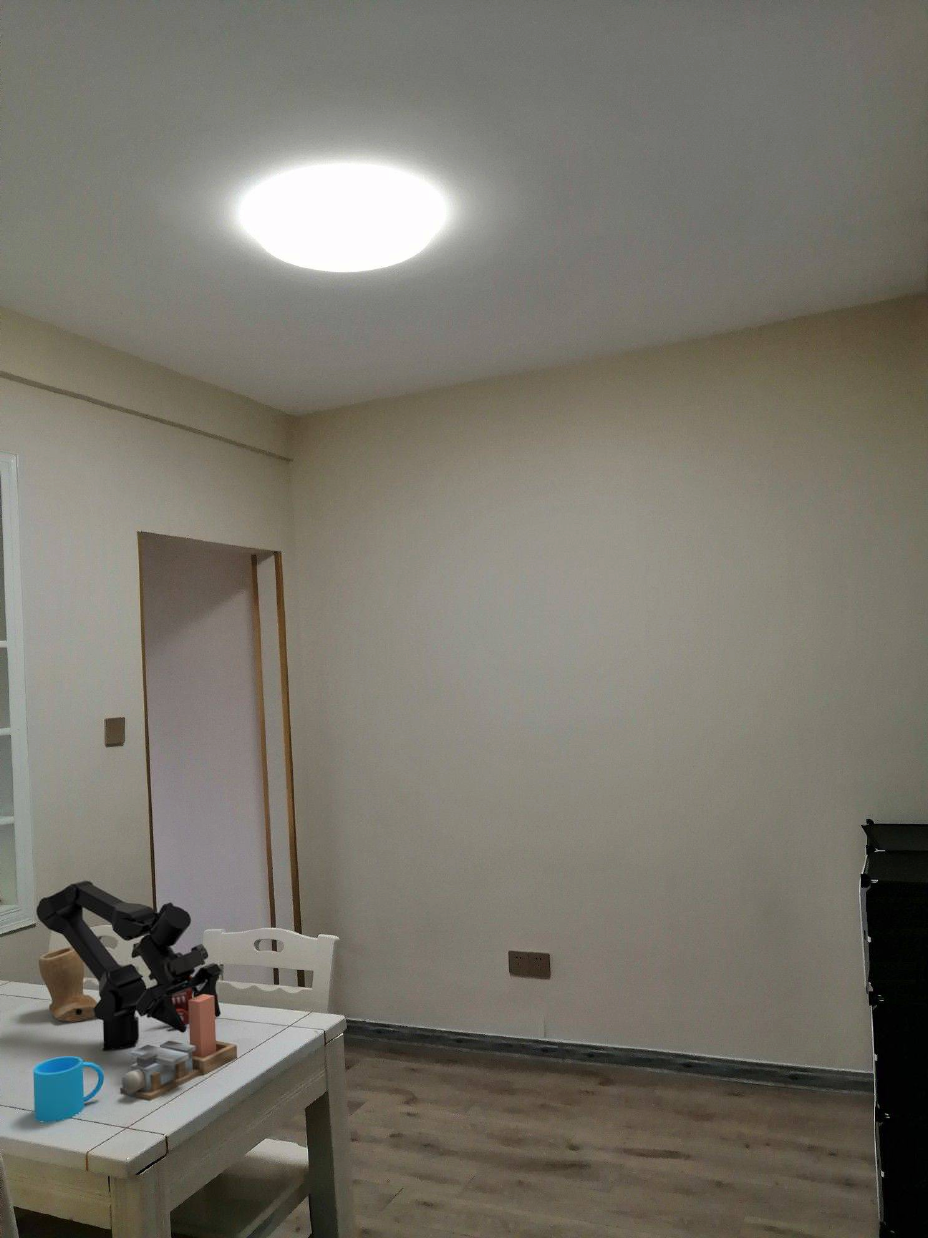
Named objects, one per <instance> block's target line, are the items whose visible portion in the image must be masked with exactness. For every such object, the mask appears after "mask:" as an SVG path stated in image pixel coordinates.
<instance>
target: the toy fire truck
mask: <svg viewBox="0 0 928 1238" xmlns="http://www.w3.org/2000/svg"><path fill="white" fill-rule="evenodd" d="M192 977H193V976H192V975H190V978H192ZM197 994H198V993H196V992H194V991H193V990H192V988H191V989H188V990H186V991H184V992H181V993H179V994H176V995H174V996H172V1001H173V1006H174V1007H175V1009H176V1011H177V1012H178V1014H179V1016H180V1017H181V1019H182V1021H183V1022H184V1024H185V1027H186V1026H187V1024H189V1004H188V1000H190V999H192V998H195V997H196V995H197ZM216 995H217V999H218V1000H219V996H218V994H217V992H216ZM173 1029H175V1028H173ZM175 1030H176V1029H175Z"/></svg>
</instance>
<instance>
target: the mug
mask: <svg viewBox="0 0 928 1238" xmlns="http://www.w3.org/2000/svg"><path fill="white" fill-rule="evenodd" d="M84 1068H90V1069H93V1070H94V1071H95V1072H96V1073H97V1077H98V1078H97V1079H98V1080H97V1083H96V1085H95V1087H94V1088H93V1089H92V1090H91V1092H90V1093H88V1094H86V1095H85V1096H84V1093H85V1092H84ZM32 1071H33V1072H32V1073H33V1102H34V1103H33V1108H34V1120H36V1119H37V1120H36V1121H38V1122H41V1121H43V1122H42V1123H53V1122H52V1121H57V1122H61V1120H62V1121H64V1120H63V1119H66V1120H68V1119H71V1118H73V1116H74V1117H76V1116H77V1115H79V1114H80V1113H82V1110H84V1109H85V1102H88V1101H89V1100H91V1099H92V1098H94V1097H95V1096H96V1095H97V1094H98V1093H99V1091H100V1090H101V1088H102V1086H103V1084H104V1080H105V1075H104V1071H103V1069H102V1068H101V1067H100V1065H98V1064H96V1063H94V1062H87V1061H83V1059H82V1058H80V1057H79V1056H73V1055H71V1056H69V1055H68V1056H67V1055H65V1056H59V1057H54V1058H51V1059H47V1060H44V1061H42V1062H39V1063H38V1064H37V1065H35V1066H34V1067H33V1069H32ZM79 1112H80V1113H79ZM76 1114H77V1115H76ZM70 1117H71V1118H70Z"/></svg>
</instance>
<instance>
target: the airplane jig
mask: <svg viewBox="0 0 928 1238" xmlns="http://www.w3.org/2000/svg"><path fill="white" fill-rule="evenodd" d="M237 1048H238V1046H237V1044H234V1043H229V1042H224V1041H218V1040H216V1052H215V1053H213V1054H211V1055H209V1056H207V1057H205V1058H201V1057H197V1056H192V1051H194V1050H196V1046H193V1045H190V1044H187V1043H182V1042H177V1041H173V1040H168V1041H165V1042H163V1043H161V1044H159V1046H156V1045H152V1044H151V1045H150V1044H146V1045H144V1046H142V1047H139V1048H137V1049H135V1050H132V1051H130V1056H131V1058H134V1059H136V1063H133V1064H132V1065H130V1071H128V1072H127V1073H125V1074H123V1076H122V1078H121V1084H122V1087H120V1088H119V1089H120V1090H119V1091H120V1093H121V1094H124V1095H128V1096H129V1095H130V1096H132V1097H135V1098H136V1097H137V1098H140V1099H144V1100H148V1101H152V1100H154V1099H156V1098H159V1097H160V1096H162V1095H164V1094H165V1093H168V1092H169V1091H172V1090H174V1089H175V1088H177V1087H179V1086H182V1085H183V1084H185V1083H187V1082H189V1081H191V1080H193V1079H195V1078H196V1077H199V1076H200V1075H206V1074H208V1073H210V1072H213V1071H214V1070H216V1069H218V1068H220V1067H222V1066H224V1065H226V1064H228V1063H229V1062H233V1060H236V1059H238V1049H237Z"/></svg>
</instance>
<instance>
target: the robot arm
mask: <svg viewBox="0 0 928 1238" xmlns="http://www.w3.org/2000/svg"><path fill="white" fill-rule="evenodd" d="M84 909H85V910H87V911H89V912H90V913H93V914H95V915H96V916H98V917H99V918H101V919H103V920H104V921H107V922H108V923H109V924H111V928H112V930H113V932H114V933H115V934H116V935H117V936H119V937H120V938H121V939H122V940H124V941H126V942H128V941H131V940H135V939H139V938H141V939H140V941H138V942H136V943H133V944H132V950H131V958H132V959H135V958H138V957H140V958H141V960H142V961H143V962H144V964H145V966H146V967H147V969H148V970H149V972H150V974H148V976H147V977H148V979H149V980H150V981H153V980H155V981H156V982H157V984H155V985H152V986H149V987H147V985H146V982H145V981H144V979H142V978H144V975H142V974H141V973H139V971H138V970H137V968H136V966H135V965H133V964H132V963H129V964H126V965H120V964H119V963H118V962H117V961H116V959H115V958H114V957H113V955H111V953H110V951H109V950H108V949H107V948H106V947H105V945H104V944H103V942H101V940H100V939H99V938H98V937H97V935H96V934H95V933H94V932H93V930H92V929H91V928H90V926H89V925H88V924H87V922H86V921H85V920H84ZM36 916H37V919H39V922H41V924H43V925H44V926H45V927H46V928H47V929H48V930H50V931H53V932H54V933H58V934H60V935H62V936H63V937H64V938H65V940H66V941H67V942H68V944H69V945H70V946H72V947H73V949H74V950H75V951H76V952H77V954H78V955H79V956H80V958H81V959H82V960H83V962H84V965H86V967H87V968H88V970H89V971H90V972H91V974H92V975H93V976H94V977H95V979H96V980H97V981H98V995H99V998H100V999H99V1000H98V1002H97V1005H96V1006H95V1007H94V1014H95V1015H94V1016H95V1019H96V1020H99V1021H102V1030H103V1031H102V1032H103V1036H102V1037H103V1045H102V1047H101V1048H102V1051H110V1050H111V1051H112V1050H118V1049H125V1048H132V1047H133V1048H134V1047H136V1044H137V1041H138V1040H139V1039H140V1026H139V1023H140V1022H139V1019H140V1018H141V1017H145V1016H146V1018H147V1019H150V1018H152V1019H154V1020H155V1021H159V1022H161V1023H163V1024H165V1025H167V1026H169V1027H171V1028H173V1029H174V1028H175V1030H177V1031H179V1032H180V1033H183V1034H184V1033H185V1032H186V1031H187V1027H186V1026H185V1024H184V1022H183V1021H182V1019H181V1017H180V1016H179V1014H178V1012H177V1011H176V1009H175V1007H174V1006H173V1001H172V996H174V995H176V994H179V993H181V992H184V991H186V990H188V989H191V988H192V990H193V991H194V992H196V993H198V994H197V995H196V997H197V996H200V995H202V994H206V995H212V996H214V1004H215V1018H218V1017H220V1016H221V1014H222V1012H221V1009H220V1004H219V998H218V999H217V995H218V994H217V995H216V993H217V987H216V985H217V983H218V981H219V980H220V975H221V974H222V973H223V971H222V969H221V968H220V966H219V964H218V963H216V962H215V963H213V962H211V963H209V964H207V965H205V964H206V961H205V960H207V959H208V958H209V953H208V951H207V948H206V947H205V946H204V945H203V944H202V943H200V944H197V945H195V946H193V947H191V948H190V951H189V952H187V953H184V954H183V953H182V952H180V951H179V952H175V951H174V950H173V948H172V947H173V946H174V945H176V944H177V942H178V941H179V940H180V938H181V937H182V936H183V934H184V933H185V932H186V930H187V929H188V928H189V927H190V925H191V922H192V919H191V916H190V913H189V912H188V911H187V910H185V909H184V908H181V907H179V906H175V905H174V904H173V902H167V903H164V904H163V905H162V906H161V907H160V909H159V911H155V910H154V908H152V907H151V906H148V905H145V904H141V903H133V902H132V903H131V902H125V901H123V900H121V899H119V898H118V897H116V896H114V895H113V894H111V893H108V892H107V891H105V890H103V889H101V888H100V887H98V886H96V885H94V883H93V882H92V881H89V880H83V881H78V882H74V883H70V884H69V885H68V886H66V887H65V888H63V889H62V890H60V891H58V892H56V893H54V894H52V895H49V896H45V897H43V898H41V899H40V900H39V903H38V905H37V907H36ZM199 966H201V967H200V968H199V969H198V971H197V972H196V969H195V968H197V967H199ZM195 972H196V973H195ZM194 973H195V975H194V976H192V975H193V974H194ZM190 975H191V976H192V978H190ZM194 992H193V993H194ZM136 1012H137V1013H138V1015H139V1016H136ZM139 1017H140V1018H139Z"/></svg>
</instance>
